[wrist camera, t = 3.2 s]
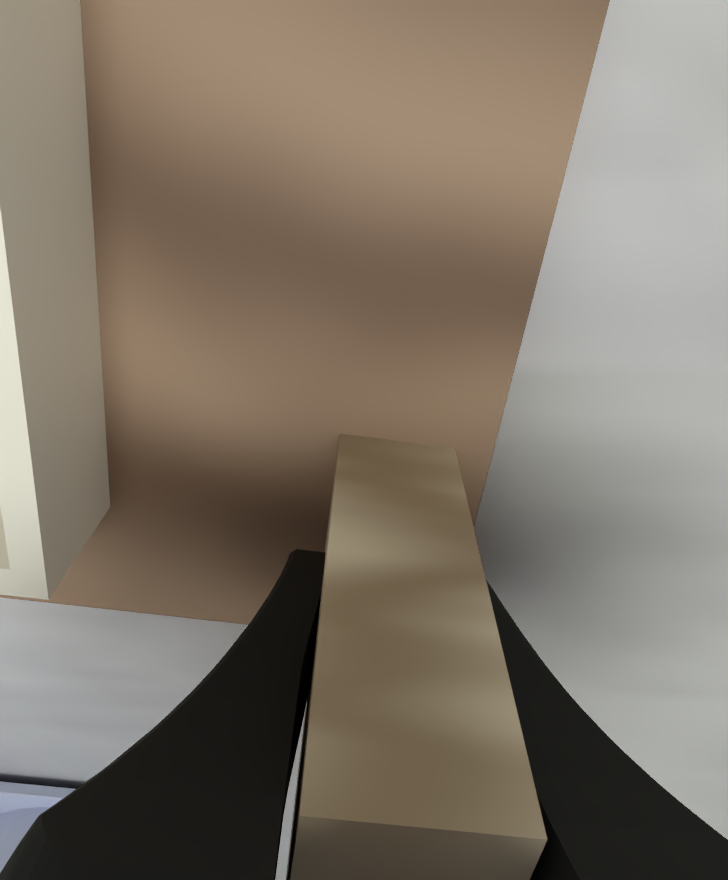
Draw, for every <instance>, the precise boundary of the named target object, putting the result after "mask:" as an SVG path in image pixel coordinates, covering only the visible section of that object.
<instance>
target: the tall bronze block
mask: <svg viewBox="0 0 728 880" xmlns="http://www.w3.org/2000/svg"><path fill="white" fill-rule="evenodd" d="M325 552H326V554H325V564H324V574H323V584H322V592H321V599H320V607H319V615H318V622H317V630H316V637H315V645H314V652H313V660H312V667H311V675H310V683H309V690H308V698H307V703H306V709H305V717H304V726H303V735H302V743H301V752H300V761H299V770H298V778H297V787H296V796H295V804H294V813H293V822H292V830H291V839H290V848H289V856H288V865H287V874H286V880H530V878H531V875H532V873H533V871H534V869H535V866H536V864H537V862H538V860H539V858H540V855H541V853H542V851H543V849H544V846H545V844H546V842H547V836H546V831H545V827H544V823H543V819H542V814H541V810H540V806H539V802H538V797H537V793H536V789H535V785H534V781H533V776H532V772H531V768H530V764H529V759H528V755H527V751H526V747H525V743H524V738H523V734H522V730H521V726H520V721H519V717H518V713H517V709H516V705H515V700H514V696H513V692H512V688H511V683H510V679H509V675H508V671H507V666H506V662H505V658H504V654H503V650H502V645H501V641H500V637H499V633H498V628H497V624H496V620H495V616H494V612H493V607H492V603H491V599H490V595H489V590H488V586H487V582H486V578H485V574H484V569H483V565H482V561H481V557H480V552H479V548H478V544H477V540H476V535H475V531H474V527H473V523H472V519H471V514H470V510H469V506H468V502H467V497H466V493H465V489H464V485H463V481H462V476H461V472H460V468H459V464H458V459H457V455H456V451H455V448H451V447H443V446H435V445H427V444H419V443H411V442H403V441H395V440H387V439H379V438H371V437H363V436H355V435H347V434H340V437H339V445H338V452H337V460H336V468H335V475H334V483H333V491H332V498H331V506H330V514H329V521H328V529H327V537H326V544H325Z"/></svg>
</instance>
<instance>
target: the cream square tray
mask: <svg viewBox="0 0 728 880" xmlns="http://www.w3.org/2000/svg"><path fill="white" fill-rule="evenodd" d="M109 508H110V493H109V477H108V460H107V443H106V426H105V410H104V393H103V376H102V359H101V342H100V326H99V309H98V292H97V275H96V259H95V242H94V225H93V208H92V192H91V175H90V158H89V141H88V125H87V108H86V91H85V74H84V58H83V41H82V24H81V7H80V0H0V595H9V596H18V597H27V598H36V599H45V600H49V598H50V597H51V595H52V594H53V592H54V591H55V589H56V588H57V586H58V585H59V583H60V582H61V580H62V579H63V577H64V576H65V574H66V573H67V571H68V570H69V568H70V567H71V565H72V564H73V562H74V561H75V559H76V558H77V556H78V555H79V553H80V552H81V550H82V549H83V547H84V546H85V544H86V543H87V541H88V540H89V538H90V537H91V535H92V534H93V532H94V531H95V529H96V528H97V526H98V525H99V523H100V522H101V520H102V519H103V517H104V516H105V514H106V513H107V511H108V510H109Z"/></svg>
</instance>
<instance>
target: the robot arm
mask: <svg viewBox="0 0 728 880" xmlns="http://www.w3.org/2000/svg"><path fill="white" fill-rule="evenodd" d="M325 554H326V552H318V551H309V550H300V549H295V550H294V551H292V552H291V553H290V554H289V557H288V560H287V562H286V564H285V567H284V569H283V571H282V573H281V575H280V577H279V578H278V580H277V582H276V584H275V585H274V587H273V589H272V590H271V592H270V594H269V595H268V597H267V598H266V600H265V601H264V603H263V604H262V606H261V607H260V609H259V610H258V612H257V613H256V615H255V616H254V618H253V619H252V621H251V622H250V623H249V625H248V626H247V627H246V629H245V630H244V631H243V633H242V634H241V635H240V637H239V638H238V639H237V640H236V642H235V643H234V644H233V646H232V647H231V648H230V649H229V651H228V652H227V653H226V654H225V656H224V657H223V658H222V659H221V660H220V661H219V663H218V664H217V665H216V666H215V667H214V668H213V669H212V671H211V672H210V673H209V674H208V675H207V676H206V677H205V678H204V679H203V680H202V681H201V683H200V684H199V685H198V686H197V687H196V688H195V689H194V690H193V691H192V692H191V693H190V694H189V695H188V696H187V697H186V698H185V699H184V700H183V701H182V702H181V703H180V704H179V705H178V706H177V707H176V708H175V709H174V710H173V711H172V712H171V713H170V714H168V715H167V716H166V717H165V718H164V719H163V720H162V721H161V722H160V723H159V724H158V725H156V726H155V727H154V728H153V729H152V730H151V731H150V732H149V733H147V734H146V735H145V736H144V737H142V738H141V739H140V740H139V741H138V742H136V743H135V744H134V745H133V746H132V747H130V748H129V749H128V750H127V751H125V752H124V753H123V754H122V755H121V756H119V757H118V758H117V759H116V760H115V761H113V762H112V763H111V764H110V765H108V766H107V767H106V768H105V769H103V770H102V771H101V772H99V773H98V774H97V775H95V776H94V777H92V778H91V779H90V780H88V781H87V782H85V783H84V784H83V785H81V786H80V787H78V788H77V789H73V788H63V787H52V786H42V785H32V784H21V783H11V782H1V781H0V880H275V876H276V868H277V861H278V853H279V845H280V837H281V829H282V822H283V814H284V809H285V803H286V797H287V792H288V787H289V782H290V777H291V773H292V768H293V763H294V759H295V754H296V749H297V745H298V740H299V735H300V731H301V726H302V721H303V717H304V712H305V707H306V703H307V698H308V690H309V683H310V675H311V667H312V660H313V652H314V645H315V637H316V630H317V622H318V615H319V607H320V599H321V592H322V584H323V574H324V564H325ZM486 582H487V586H488V590H489V595H490V599H491V603H492V607H493V612H494V616H495V620H496V624H497V628H498V633H499V637H500V641H501V645H502V650H503V654H504V658H505V662H506V666H507V671H508V675H509V679H510V683H511V688H512V692H513V696H514V700H515V705H516V709H517V713H518V717H519V721H520V726H521V730H522V734H523V738H524V743H525V747H526V751H527V755H528V759H529V764H530V768H531V772H532V776H533V781H534V785H535V789H536V793H537V797H538V802H539V806H540V810H541V814H542V819H543V823H544V827H545V831H546V836H547V842H546V844H545V846H544V849H543V851H542V853H541V855H540V858H539V860H538V862H537V864H536V866H535V869H534V871H533V873H532V875H531V878H530V880H728V840H727V839H726V838H724V837H723V836H722V835H721V834H719V833H718V832H717V831H715V830H714V829H713V828H712V827H710V826H709V825H708V824H707V823H705V822H704V821H703V820H702V819H700V818H699V817H698V816H697V815H695V814H694V813H693V812H692V811H690V810H689V809H688V808H687V807H685V806H684V805H683V804H682V803H680V802H679V801H678V800H677V799H676V798H675V797H673V796H672V795H671V794H670V793H669V792H668V791H666V790H665V789H664V788H663V787H662V786H660V785H659V784H658V783H657V782H656V781H655V780H654V779H653V778H651V777H650V776H649V775H648V774H647V773H646V772H645V771H644V770H643V769H642V768H641V767H640V766H638V765H637V764H636V763H635V762H634V761H633V760H632V759H631V758H630V757H629V756H628V755H626V754H625V753H624V752H623V751H622V750H621V749H620V748H619V747H618V746H617V745H616V744H615V743H614V742H613V741H612V740H611V739H610V738H609V737H608V736H607V735H606V734H605V733H604V732H603V731H602V730H601V729H600V728H599V726H598V725H597V724H596V723H595V722H594V721H593V720H592V719H591V718H590V717H589V716H588V715H587V714H586V713H585V712H584V711H583V710H582V708H581V707H580V706H579V705H578V704H577V703H576V702H575V701H574V699H573V698H572V697H571V696H570V695H569V694H568V693H567V691H566V690H565V689H564V688H563V686H562V685H561V684H560V683H559V682H558V680H557V679H556V678H555V677H554V675H553V674H552V673H551V672H550V670H549V669H548V668H547V666H546V665H545V664H544V663H543V661H542V660H541V659H540V657H539V656H538V655H537V653H536V652H535V650H534V649H533V648H532V646H531V645H530V644H529V642H528V641H527V639H526V638H525V637H524V635H523V634H522V632H521V631H520V630H519V628H518V627H517V625H516V624H515V622H514V621H513V619H512V618H511V616H510V615H509V613H508V612H507V610H506V609H505V607H504V606H503V604H502V603H501V601H500V600H499V598H498V597H497V595H496V594H495V592H494V591H493V589H492V588H491V586H490V584H489V583H488V581H487V580H486Z"/></svg>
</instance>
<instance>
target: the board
mask: <svg viewBox="0 0 728 880" xmlns="http://www.w3.org/2000/svg"><path fill="white" fill-rule="evenodd" d="M609 1H610V0H80V7H81V24H82V41H83V58H84V74H85V91H86V108H87V125H88V141H89V158H90V175H91V192H92V208H93V225H94V242H95V259H96V275H97V292H98V309H99V326H100V342H101V359H102V376H103V393H104V410H105V426H106V443H107V460H108V477H109V493H110V508H109V510H108V511H107V513H106V514H105V516H104V517H103V519H102V520H101V522H100V523H99V525H98V526H97V528H96V529H95V531H94V532H93V534H92V535H91V537H90V538H89V540H88V541H87V543H86V544H85V546H84V547H83V549H82V550H81V552H80V553H79V555H78V556H77V558H76V559H75V561H74V562H73V564H72V565H71V567H70V568H69V570H68V571H67V573H66V574H65V576H64V577H63V579H62V580H61V582H60V583H59V585H58V586H57V588H56V589H55V591H54V592H53V594H52V595H51V597H50V598H49V600H45V599H36V598H27V597H18V596H9V595H0V597H3V598H12V599H21V600H30V601H39V602H48V603H57V604H66V605H76V606H85V607H94V608H103V609H112V610H121V611H130V612H139V613H148V614H157V615H166V616H175V617H184V618H193V619H202V620H212V621H221V622H230V623H239V624H248V625H249V623H250V622H251V621H252V619H253V618H254V616H255V615H256V613H257V612H258V610H259V609H260V607H261V606H262V604H263V603H264V601H265V600H266V598H267V597H268V595H269V594H270V592H271V590H272V589H273V587H274V585H275V584H276V582H277V580H278V578H279V577H280V575H281V573H282V571H283V569H284V567H285V564H286V562H287V560H288V557H289V554H290V553H291V552H292V551H294V550H295V549H300V550H309V551H318V552H325V544H326V537H327V529H328V521H329V514H330V506H331V498H332V491H333V483H334V475H335V468H336V460H337V452H338V445H339V437H340V434H347V435H355V436H363V437H371V438H379V439H387V440H395V441H403V442H411V443H419V444H427V445H435V446H443V447H451V448H455V451H456V455H457V459H458V464H459V468H460V472H461V476H462V481H463V485H464V489H465V493H466V497H467V502H468V506H469V510H470V514H471V519H472V523H473V527H474V523H475V519H476V516H477V512H478V508H479V504H480V500H481V496H482V492H483V489H484V485H485V481H486V477H487V473H488V469H489V465H490V461H491V458H492V454H493V450H494V446H495V442H496V438H497V434H498V430H499V427H500V423H501V419H502V415H503V411H504V407H505V403H506V400H507V396H508V392H509V388H510V384H511V380H512V376H513V372H514V369H515V365H516V361H517V357H518V353H519V349H520V345H521V341H522V338H523V334H524V330H525V326H526V322H527V318H528V314H529V311H530V307H531V303H532V299H533V295H534V291H535V287H536V283H537V280H538V276H539V272H540V268H541V264H542V260H543V256H544V252H545V249H546V245H547V241H548V237H549V233H550V229H551V225H552V222H553V218H554V214H555V210H556V206H557V202H558V198H559V194H560V191H561V187H562V183H563V179H564V175H565V171H566V167H567V163H568V160H569V156H570V152H571V148H572V144H573V140H574V136H575V133H576V129H577V125H578V121H579V117H580V113H581V109H582V105H583V102H584V98H585V94H586V90H587V86H588V82H589V78H590V74H591V71H592V67H593V63H594V59H595V55H596V51H597V47H598V44H599V40H600V36H601V32H602V28H603V24H604V20H605V16H606V13H607V9H608V5H609Z"/></svg>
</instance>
